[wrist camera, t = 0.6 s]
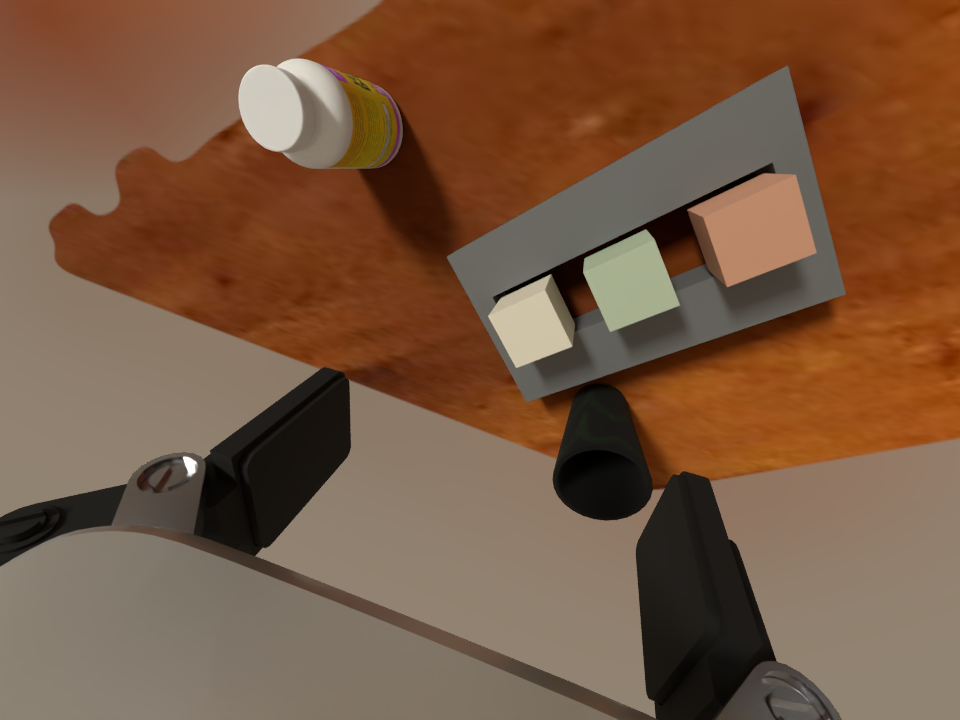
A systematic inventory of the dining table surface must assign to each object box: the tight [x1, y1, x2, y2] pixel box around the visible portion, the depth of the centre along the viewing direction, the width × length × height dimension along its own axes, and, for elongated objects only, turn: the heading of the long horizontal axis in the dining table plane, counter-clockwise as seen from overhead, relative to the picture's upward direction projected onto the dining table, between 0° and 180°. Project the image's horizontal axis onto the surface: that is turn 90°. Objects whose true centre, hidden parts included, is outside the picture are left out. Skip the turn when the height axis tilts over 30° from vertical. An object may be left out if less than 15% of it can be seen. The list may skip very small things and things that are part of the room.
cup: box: [553, 384, 653, 520], centre depth 37 cm, size 8×8×12 cm
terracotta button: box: [687, 173, 817, 287], centre depth 27 cm, size 5×5×5 cm
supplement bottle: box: [239, 59, 403, 169], centre depth 30 cm, size 7×7×13 cm
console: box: [447, 66, 846, 402], centre depth 34 cm, size 26×16×4 cm, turn 120°
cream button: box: [488, 274, 575, 368], centre depth 33 cm, size 5×5×5 cm
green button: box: [583, 229, 680, 332], centre depth 30 cm, size 5×5×5 cm
